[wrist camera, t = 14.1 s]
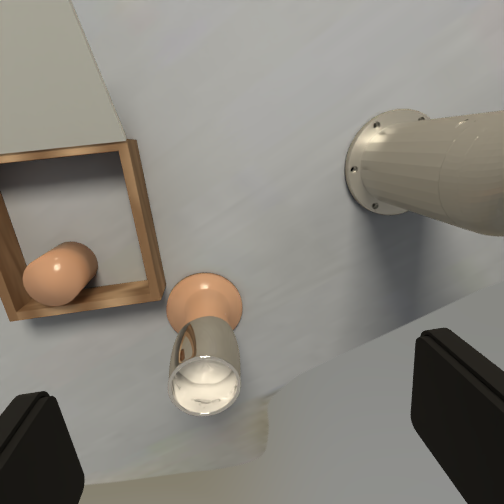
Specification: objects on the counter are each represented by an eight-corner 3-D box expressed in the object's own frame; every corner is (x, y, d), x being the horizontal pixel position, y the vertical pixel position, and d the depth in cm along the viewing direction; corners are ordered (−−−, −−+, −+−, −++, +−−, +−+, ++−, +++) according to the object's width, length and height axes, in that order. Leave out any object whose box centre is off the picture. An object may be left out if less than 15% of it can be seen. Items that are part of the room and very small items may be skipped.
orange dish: (237, 267, 43) (237, 269, 42) (245, 333, 46) (246, 336, 45) (160, 278, 42) (159, 280, 41) (174, 344, 45) (173, 347, 45)
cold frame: (136, 139, 37) (126, 138, 32) (166, 284, 42) (160, 300, 38) (-22, 156, 35) (-54, 157, 31) (30, 303, 41) (9, 321, 37)
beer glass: (203, 340, 45) (199, 430, 31) (169, 306, 43) (148, 385, 28) (243, 311, 44) (258, 389, 30) (211, 274, 42) (210, 340, 28)
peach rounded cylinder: (91, 238, 40) (71, 254, 34) (102, 280, 41) (85, 302, 36) (43, 244, 39) (15, 261, 34) (57, 286, 41) (32, 309, 35)
